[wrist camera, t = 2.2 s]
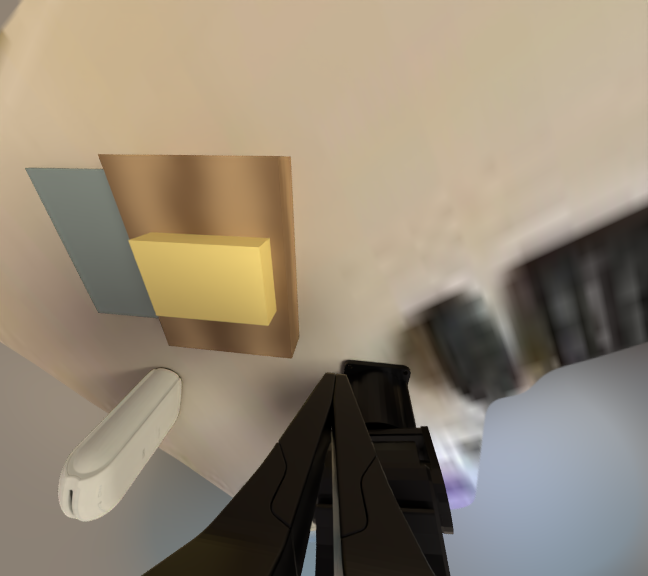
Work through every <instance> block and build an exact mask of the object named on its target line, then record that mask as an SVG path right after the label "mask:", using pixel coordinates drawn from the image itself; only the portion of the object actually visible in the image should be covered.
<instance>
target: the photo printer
mask: <svg viewBox="0 0 648 576" xmlns="http://www.w3.org/2000/svg"><path fill="white" fill-rule="evenodd" d="M181 391H182V382H181V379H180V378H179V376H178V375H177V374H176V373H174V372H173V371H171V370H168V369H164V368H158V369H157V370H156V369H153V370H152V371H150V372H149V373H148V374H147V375H146V376H145V377H144V378H143V379H142V380H141V381H140V382H139V383H138V384H137V385H136V386H135V387H134V389H133V390H132V391H131V392H130V393H129V394H128V395H127V396H126V397H125V398H124V399H123V400H122V401H121V402H120V403H119V404H118V405H117V406H116V407H115V408H114V409H113V410H112V411H111V412H110V413H109V414H108V415H107V416H106V417H105V418H104V419H103V420H102V421H101V422H100V423H99V424H98V425H97V426H96V427H95V428H94V429H93V430H92V431H91V432H90V434H89V435H87V437H86V438H85V439H84V440H83V441H82V442H81V443H80V444H79V445H78V446H77V447H76V448H75V449H74V450H73V451H72V452H71V454H70V455H69V456H68V458H67V460H66V462H65V464H64V467H63V469H62V472H61V475H60V480H59V486H58V498H59V503H60V507H61V509H62V511H63V512H64V514H65V515H66V516H67V517H70V518H77V519H78V520H80V521H91V520H94V519H97V518H100V517H102V516H103V515H105V514H107V513H108V512H109V511H111V510H112V509H113V508H114V507H115V506H116V505H117V504H118V503H119V502H120V500H121V499H122V498H123V496H124V495H125V493H126V492H127V490H128V489H129V488H130V486H131V485H132V483H133V482H134V480H135V479H136V477H137V476H138V475H139V473H140V472H141V471H142V469H143V468H144V466H145V465H146V463H147V462H148V461H149V459H150V458H151V456H152V455H153V453H154V452H155V451H156V449H157V448H158V446H159V445H160V443H161V442H162V440H163V439H164V438H165V436H166V435H167V433H168V432H169V430H170V429H171V427H172V426H173V425H174V423H175V421H176V419H177V417H178V415H179V410H180V403H181Z"/></svg>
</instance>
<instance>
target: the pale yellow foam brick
mask: <svg viewBox="0 0 648 576" xmlns="http://www.w3.org/2000/svg"><path fill="white" fill-rule="evenodd" d="M128 241H129V244H130V246H131V249H132V252H133V254H134V257H135V260H136V262H137V265H138V268H139V270H140V273H141V276H142V278H143V281H144V284H145V286H146V289H147V292H148V294H149V297H150V300H151V302H152V305H153V308H154V310H155V313H156V316H166V317H177V318H188V319H199V320H211V321H222V322H233V323H244V324H255V325H266V326H269V324H270V322H271V320H272V318H273V316H274V315H275V313H276V311H277V310H276V300H275V289H274V279H273V269H272V258H271V248H270V238H256V237H235V236H215V235H195V234H174V233H154V232H151V233H148V234H145V235H142V236H139V237H136V238H133V239H130V240H128Z"/></svg>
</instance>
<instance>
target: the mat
mask: <svg viewBox="0 0 648 576" xmlns="http://www.w3.org/2000/svg"><path fill="white" fill-rule="evenodd" d="M25 169H26V171H27V173H28V175H29V177H30V179H31V181H32V183H33V185H34V187H35V189H36V191H37V193H38V195H39V197H40V199H41V201H42V203H43V205H44V207H45V209H46V211H47V213H48V215H49V216H50V218H51V220H52V222H53V224H54V226H55V228H56V230H57V232H58V234H59V236H60V238H61V240H62V242H63V244H64V246H65V248H66V250H67V252H68V254H69V256H70V258H71V260H72V262H73V264H74V266H75V268H76V270H77V272H78V274H79V276H80V278H81V280H82V282H83V284H84V286H85V288H86V290H87V292H88V293H89V295H90V297H91V299H92V301H93V303H94V305H95V307H96V309H97V311H98V313H107V314H118V315H129V316H140V317H150V318H159V317H158V316H156V313H155V310H154V308H153V305H152V302H151V300H150V297H149V294H148V292H147V289H146V286H145V284H144V281H143V278H142V276H141V273H140V270H139V268H138V265H137V262H136V260H135V257H134V254H133V252H132V249H131V246H130V244H129V241H128V240H130V239H129V237H128V234H127V231H126V229H125V226H124V223H123V220H122V218H121V215H120V212H119V210H118V207H117V204H116V202H115V199H114V196H113V194H112V191H111V188H110V186H109V183H108V180H107V177H106V175H105V172H104V169H65V168H25Z"/></svg>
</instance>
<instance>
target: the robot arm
mask: <svg viewBox="0 0 648 576" xmlns="http://www.w3.org/2000/svg"><path fill="white" fill-rule="evenodd" d="M348 365H351V366H348ZM404 371H406V372H404ZM410 374H411V372H410V369H409V367H406V366H397V365H388V364H378V363H368V362H359V361H346V362H345V369H344V374H335V373H328V372H327V373H325V374H324V376H323V377H322V379H321V380H320V382H319V383H318V385H317V386H316V387H315V389H314V390H313V392H312V393H311V395H310V396H309V397H308V399H307V400H306V402H305V403H304V405H303V406H302V408H301V409H300V410H299V412H298V413H297V415H296V416H295V418H294V419H293V421H292V422H291V423H290V425H289V426H288V428H287V429H286V431H285V432H284V434H283V435H282V436H281V438H280V439H279V441H278V442H279V443H276V445H275V446H274V448H273V449H272V451H271V452H270V453H269V455H268V456H267V458H266V459H265V460H264V462H263V463H262V464H261V466H260V467H259V468H258V469H257V471H256V472H255V473H254V474H253V475H252V477H251V478H250V479H249V480H248V481H247V483H246V484H245V485H244V486H243V487H242V488H241V489H240V491H239V492H238V493H237V494H236V495H235V496H234V498H233V499H232V500H231V501H230V502H229V504H228V505H227V506H226V507H225V508H224V509H223V510H222V511H221V513H220V514H219V515H218V516H217V517H216V518H215V519H214V521H213V522H212V523H211V524H210V525H209V526H208V527H207V528H206V529H205V530H204V531H203V532H201V533H200V534H199V535H198V536H197V537H196V538H194V539H193V540H191V541H190V542H188V543H187V544H186V545H184V546H183V547H181V548H180V549H178V550H177V551H176V552H174V553H173V554H171V555H170V556H169V557H167V558H166V559H164V560H163V561H161V562H160V563H159V564H157V565H156V566H154V567H153V568H151V569H150V570H149V571H147V572H146V573H144V574H143V575H141V576H301V573H302V568H303V563H304V558H305V554H306V549H307V544H308V540H309V535H310V530H311V526H312V521H313V523H314V524H315V525H316V571H315V576H450V572H449V566H448V561H447V555H446V550H445V545H444V539H443V534H442V533H444V534H453V524H452V518H451V512H450V507H449V502H448V497H447V493H446V489H445V484H444V480H443V477H442V473H441V469H440V466H439V463H438V459H437V456H436V453H435V450H434V446H433V443H432V440H431V436H430V433H429V430H428V426H421V428H416V424H415V419H414V414H413V409H412V405H411V400H410V395H409V390H408V382H409V378H410ZM331 429H332V430H331Z"/></svg>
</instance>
